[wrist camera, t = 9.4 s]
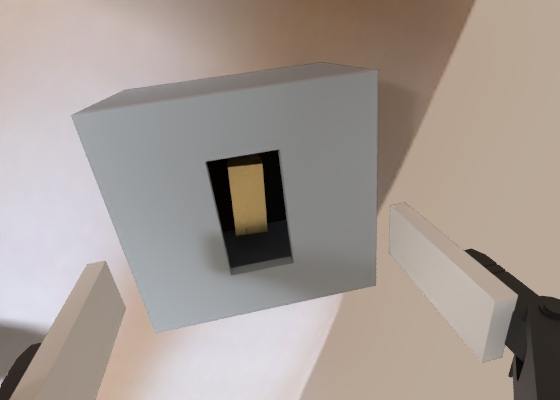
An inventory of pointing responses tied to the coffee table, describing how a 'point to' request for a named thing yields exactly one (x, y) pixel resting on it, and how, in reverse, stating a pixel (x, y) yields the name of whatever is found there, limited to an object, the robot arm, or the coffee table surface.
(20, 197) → the coffee table surface
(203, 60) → the coffee table surface
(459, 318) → the robot arm
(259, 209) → the block
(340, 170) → the box
